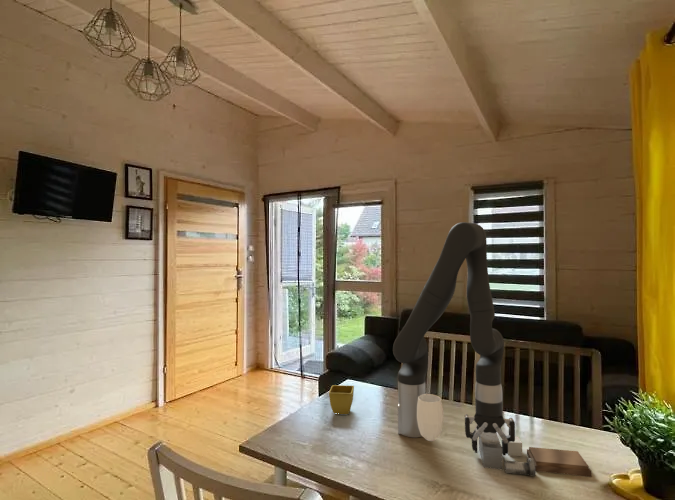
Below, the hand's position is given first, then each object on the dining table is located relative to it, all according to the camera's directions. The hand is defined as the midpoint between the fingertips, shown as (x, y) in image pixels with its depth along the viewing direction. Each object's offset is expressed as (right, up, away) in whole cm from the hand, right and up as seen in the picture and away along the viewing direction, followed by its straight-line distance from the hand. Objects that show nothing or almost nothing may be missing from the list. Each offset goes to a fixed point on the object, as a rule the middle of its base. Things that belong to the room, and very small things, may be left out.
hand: (489, 452), depth 115 cm
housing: (0, -2, -1) cm, 2 cm away
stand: (+17, -1, -5) cm, 18 cm away
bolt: (+4, -1, -8) cm, 9 cm away
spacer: (+8, -1, +3) cm, 9 cm away
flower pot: (-43, -3, +34) cm, 55 cm away
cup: (-19, -2, -7) cm, 21 cm away
